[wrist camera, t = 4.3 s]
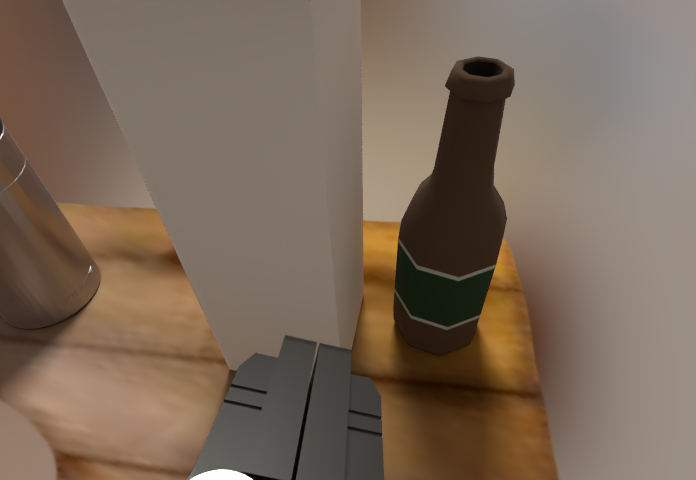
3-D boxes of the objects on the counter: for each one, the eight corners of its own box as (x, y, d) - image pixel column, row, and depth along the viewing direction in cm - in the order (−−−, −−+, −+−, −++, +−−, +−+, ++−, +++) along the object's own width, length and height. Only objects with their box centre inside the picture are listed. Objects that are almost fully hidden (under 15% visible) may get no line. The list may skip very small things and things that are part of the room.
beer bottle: (469, 287, 44) (535, 36, 26) (485, 358, 38) (582, 100, 21) (390, 288, 44) (404, 39, 27) (395, 359, 38) (417, 104, 21)
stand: (203, 388, 37) (-62, -75, 14) (258, 263, 47) (154, -132, 24) (356, 416, 35) (336, -73, 12) (381, 279, 44) (396, -136, 22)
